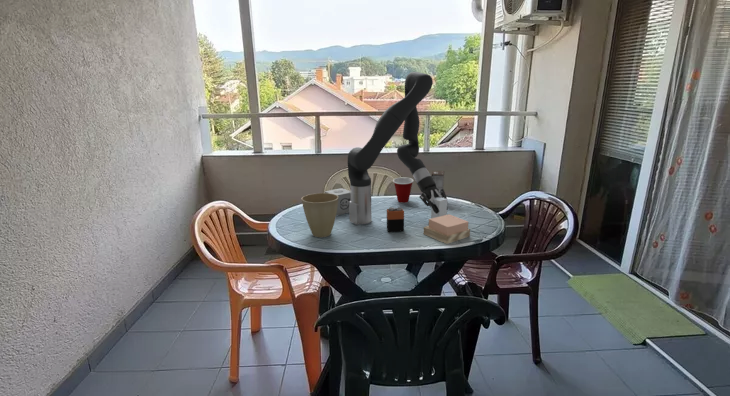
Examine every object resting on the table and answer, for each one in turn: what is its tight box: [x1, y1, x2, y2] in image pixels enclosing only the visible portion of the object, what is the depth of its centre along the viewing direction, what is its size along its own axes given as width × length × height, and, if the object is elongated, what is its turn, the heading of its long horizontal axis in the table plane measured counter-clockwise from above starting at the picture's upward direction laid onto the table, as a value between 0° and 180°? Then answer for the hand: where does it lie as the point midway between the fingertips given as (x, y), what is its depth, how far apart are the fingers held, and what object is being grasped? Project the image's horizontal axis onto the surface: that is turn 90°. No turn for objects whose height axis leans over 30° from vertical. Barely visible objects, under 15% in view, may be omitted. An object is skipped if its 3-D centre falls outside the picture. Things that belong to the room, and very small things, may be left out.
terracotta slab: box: [428, 214, 469, 236], centre depth 150 cm, size 11×11×4 cm
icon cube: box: [323, 187, 351, 217], centre depth 183 cm, size 10×10×10 cm
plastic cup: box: [392, 176, 415, 204], centre depth 197 cm, size 11×11×12 cm
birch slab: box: [423, 225, 471, 245], centre depth 152 cm, size 13×13×4 cm
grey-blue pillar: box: [430, 197, 448, 219], centre depth 167 cm, size 5×5×10 cm
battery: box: [386, 206, 405, 233], centre depth 157 cm, size 4×7×10 cm, turn 96°
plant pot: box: [301, 192, 339, 238], centre depth 153 cm, size 15×15×16 cm
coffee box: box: [431, 170, 445, 197], centre depth 194 cm, size 9×6×16 cm
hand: (442, 211), depth 166 cm, fingers closed on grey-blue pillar, 4 cm apart
